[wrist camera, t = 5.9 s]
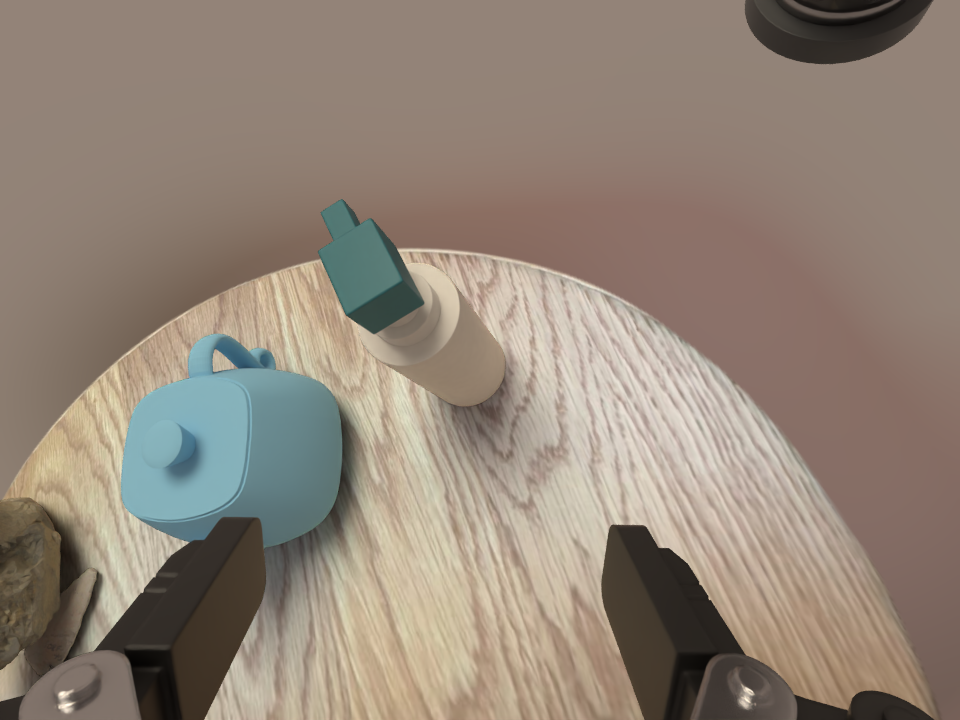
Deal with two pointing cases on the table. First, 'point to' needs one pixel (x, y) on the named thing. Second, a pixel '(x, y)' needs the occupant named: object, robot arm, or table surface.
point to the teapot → (233, 448)
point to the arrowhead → (62, 625)
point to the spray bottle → (410, 313)
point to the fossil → (26, 575)
